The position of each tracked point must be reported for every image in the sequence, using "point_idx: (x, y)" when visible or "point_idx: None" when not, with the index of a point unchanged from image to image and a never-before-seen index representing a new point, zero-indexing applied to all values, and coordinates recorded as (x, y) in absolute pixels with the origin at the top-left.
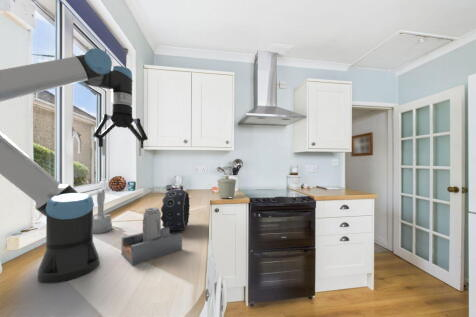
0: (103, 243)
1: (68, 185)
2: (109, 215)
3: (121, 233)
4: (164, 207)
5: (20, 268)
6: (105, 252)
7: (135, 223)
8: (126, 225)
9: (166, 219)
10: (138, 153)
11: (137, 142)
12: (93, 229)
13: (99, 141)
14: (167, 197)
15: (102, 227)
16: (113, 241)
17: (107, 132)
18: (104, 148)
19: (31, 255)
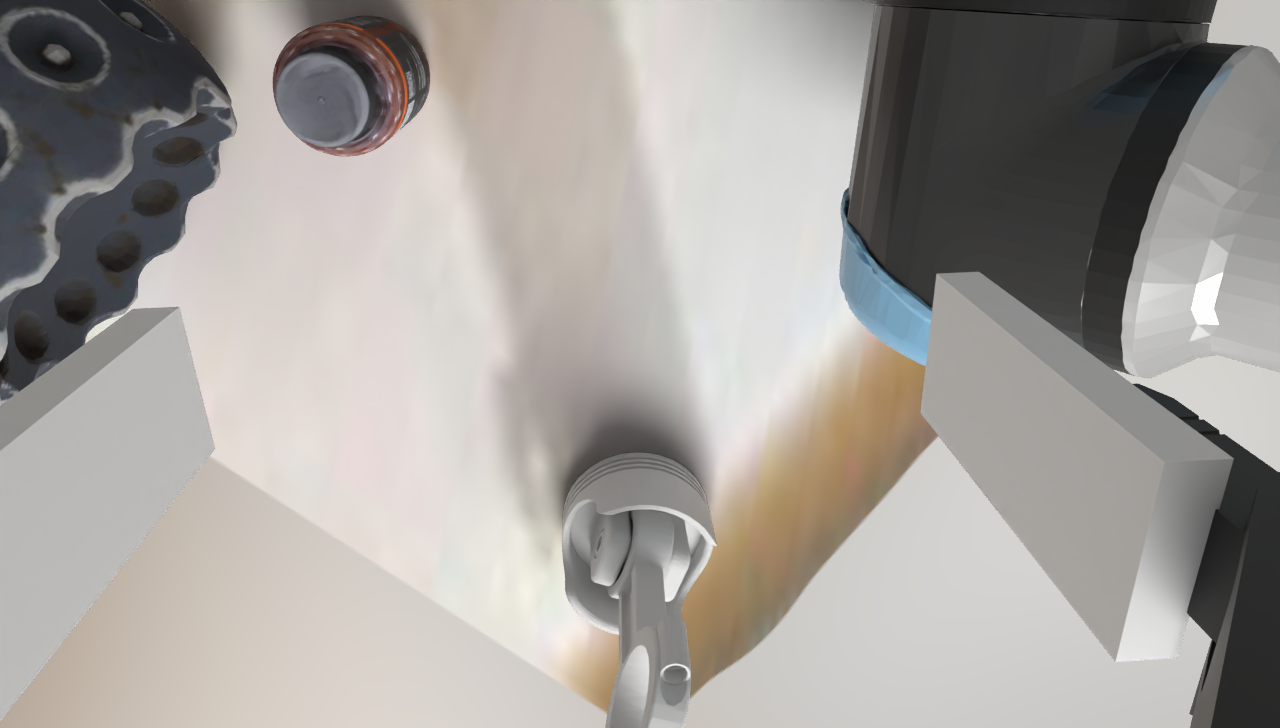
0: (675, 203)
1: (1156, 198)
2: (572, 597)
3: (532, 343)
4: (149, 76)
5: None
6: (701, 4)
7: (392, 524)
8: (461, 513)
9: (186, 40)
10: (165, 385)
11: (5, 668)
12: (688, 484)
13: (1244, 452)
14: (46, 134)
15: (636, 471)
16: (614, 199)
17: (1266, 649)
18: (1021, 329)
19: None
